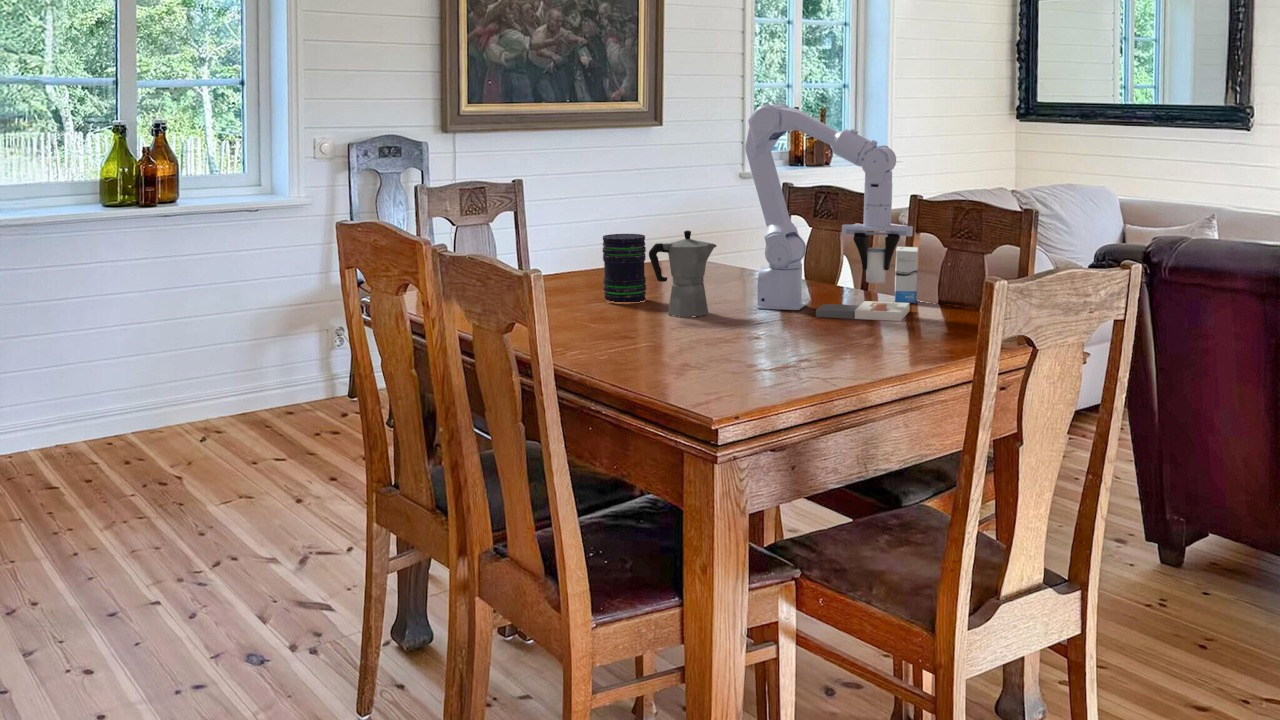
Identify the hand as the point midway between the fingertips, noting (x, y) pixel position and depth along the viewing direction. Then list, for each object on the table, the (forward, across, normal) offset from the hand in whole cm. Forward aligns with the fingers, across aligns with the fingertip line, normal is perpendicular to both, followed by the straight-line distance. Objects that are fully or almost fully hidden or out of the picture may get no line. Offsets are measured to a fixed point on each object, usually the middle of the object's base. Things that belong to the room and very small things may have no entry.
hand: (875, 269), depth 270 cm
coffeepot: (+10, -39, -11) cm, 42 cm away
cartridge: (+3, 0, 0) cm, 3 cm away
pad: (+10, -7, -3) cm, 12 cm away
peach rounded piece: (+10, +2, -5) cm, 12 cm away
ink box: (+10, +4, +19) cm, 21 cm away
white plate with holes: (+10, +2, -1) cm, 10 cm away
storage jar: (+10, -57, +2) cm, 58 cm away
